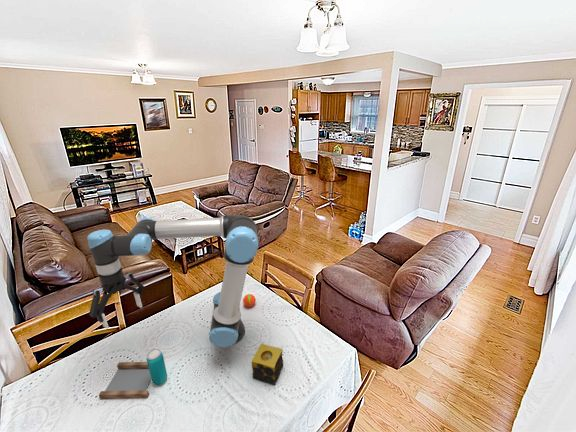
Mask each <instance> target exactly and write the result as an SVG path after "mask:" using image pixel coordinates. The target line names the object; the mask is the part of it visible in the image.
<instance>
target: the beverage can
mask: <svg viewBox="0 0 576 432" xmlns="http://www.w3.org/2000/svg"><path fill="white" fill-rule="evenodd" d="M146 362H147V364H148V368H149V371H150V375H151V382H152V384H153V385H154V386H156V387H160V386H163V385H164V384H165V383H166V381H167V379H168V372H167V368H166V363H165V359H164V355H163V352H162V349H160V348H159V347H158V348H157V347H156V348H153V349H150V350H149V351H147V354H146Z"/></svg>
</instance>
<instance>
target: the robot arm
mask: <svg viewBox="0 0 576 432" xmlns="http://www.w3.org/2000/svg"><path fill="white" fill-rule="evenodd" d="M202 237H203V238H206V237H208V238H209V237H222V239H225V241H224V249H223V250H224V251H223V259H224V260H225V261H226V262H225V267H224V273H223V278H222V284H221V289H220V291H219V292H217V293H216V294H214V296H213V298H212V303H213V311H212V316H211V323H210V328H209V329H210V330H209V332H208V336H209V337H208V339H209V341H210V344H213V346H215V347H218V348H229V347H231V346H233V345H235V344H237V343H238V342H240V341H241V340H243V338H244V336H245V334H246V327H245V324H244V322H243V320H242V319H241V318H242V312H241V310H240V305H241V302H242V296H243V292H244V286H245V283H246V277H247V272H248V268H249V265H252V263H254V259H255V255H257V252H258V249H259V239H258V226H257V224H256V222H255V221H254V220H253V219H252V218H251V217H249V216H247V215H243V214H223V215H221V217H212V218H211V217H209V218H192V219H189V218H187V219H185V218H184V219H170V220H168V219H166V220H155V219H153V217H152V218H150V217H144V218H142V219H140V220H139V221H137V223H135V224H134V227H132V228H131V230H130V231H129V232H128V233H127V234H124V235H114V234H113V233H112V231H111V230H110V229H99V230H95V231H93V232H91V233H89V234H88V235H87V238H86V239H87V243H88V248H89V251H90V252H91V257H92V258H93V261H94V265H95V269H96V271H97V274H98V278H99V281H100V282H99V283H100V285H101V287H100V288H97V289H96V288H94V289H92V294H93V295H92V301H91V304H90V309H89V312H88V315H89V316H90V317H91V318H96V319H97V322H99V323H101V324H102V327H103V328H105V329H109V328H110V326H109V324H108V321H107V317H106V315H105V313H104V310H105V309H106V306H107V304H108V301H109V300H110V299H111V297H112V296H113V295H114V294H117V293H119V292H120V291H122V289H125V290H126V289H127V290H130V291H131V292H133V296H134V299H135V303H136V306H137V307H138V308H140V309H142V308H143V303H142V299H143V290H145V289H146V288H145V286H144V285H143V284H142V283H141V282H140V281H138V280H137V279H136V278H135V277H134V274H133V273H131V272H126V274H125V275H124V271H123V269H122V263H121V262H120V257H130V256H138V257H139V256H141V255H147V254H149V253H150V252H151V250H152V246H153V244H152V243H153V242H152V240H163V239H164V240H165V239H181V238H182V239H186V238H202ZM127 280H129V281H131V282H132V283H133V284H134V285H135V286H136V287H135V286H132V285H129V284H126V281H127ZM101 295H102V297H101Z"/></svg>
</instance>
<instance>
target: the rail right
mask: <svg viewBox="0 0 576 432" xmlns="http://www.w3.org/2000/svg"><path fill="white" fill-rule="evenodd" d="M116 367H117V370H129V369H149V368H148V364H147V361H127V362H126V361H123V362H121V361H119V362H118V363H117V365H116Z"/></svg>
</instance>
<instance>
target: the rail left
mask: <svg viewBox="0 0 576 432" xmlns="http://www.w3.org/2000/svg"><path fill="white" fill-rule="evenodd" d="M149 397H150V393H149V390H148V389H147V390H132V391H105V390H101V391H100V392H99V394H98V398H99V400H129V399H130V400H131V399H132V400H134V399H137V400H138V399H148V398H149Z"/></svg>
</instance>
